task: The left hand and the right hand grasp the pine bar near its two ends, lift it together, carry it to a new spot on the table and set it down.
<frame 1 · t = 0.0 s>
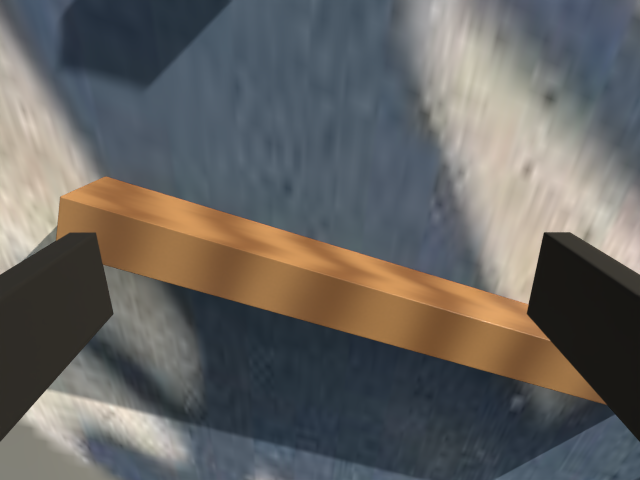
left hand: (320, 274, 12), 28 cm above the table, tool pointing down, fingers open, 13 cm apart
bar: (415, 292, 44), on the table
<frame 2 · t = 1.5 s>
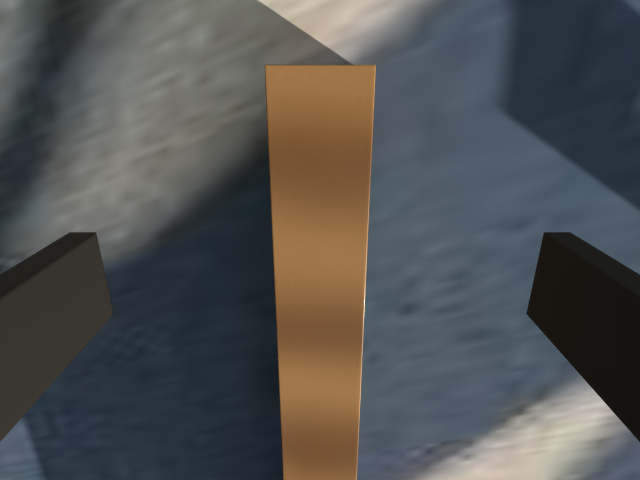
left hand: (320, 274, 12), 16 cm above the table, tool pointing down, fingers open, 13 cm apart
bar: (319, 464, 37), on the table
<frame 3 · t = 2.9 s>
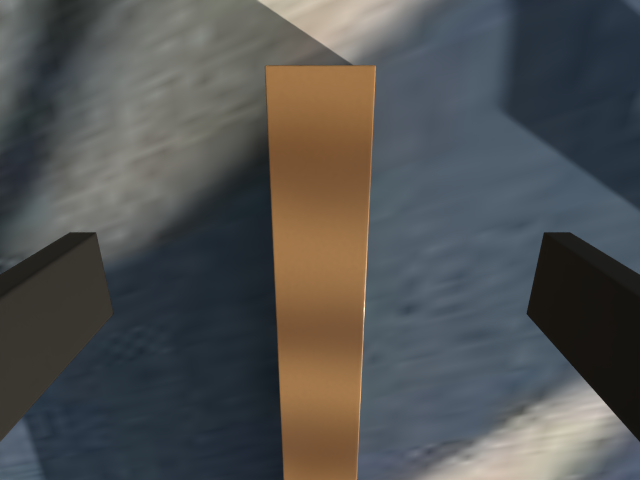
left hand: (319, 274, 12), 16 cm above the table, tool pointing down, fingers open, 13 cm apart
bar: (320, 465, 37), on the table, touching right hand
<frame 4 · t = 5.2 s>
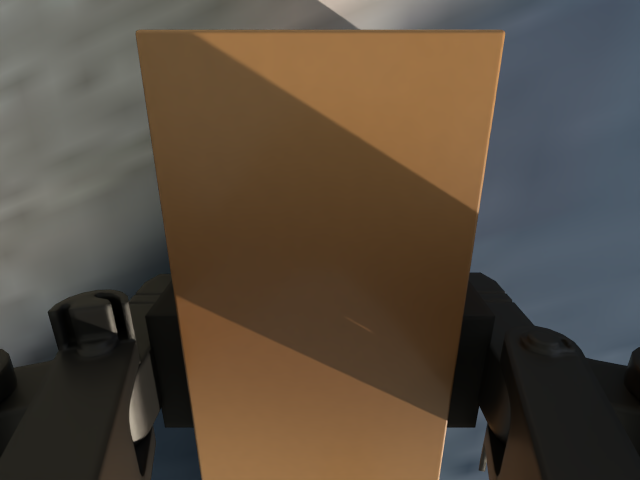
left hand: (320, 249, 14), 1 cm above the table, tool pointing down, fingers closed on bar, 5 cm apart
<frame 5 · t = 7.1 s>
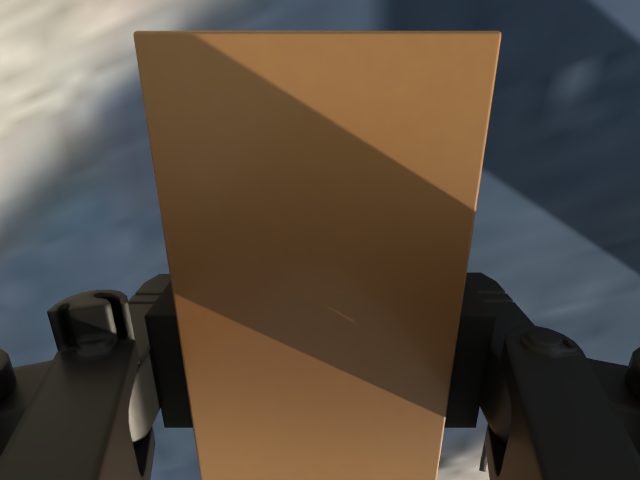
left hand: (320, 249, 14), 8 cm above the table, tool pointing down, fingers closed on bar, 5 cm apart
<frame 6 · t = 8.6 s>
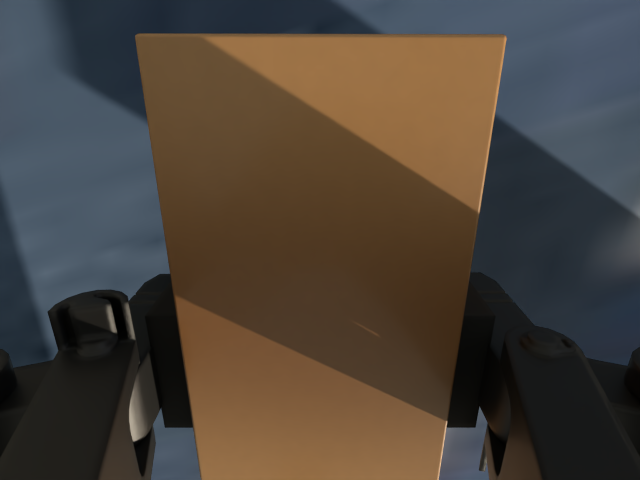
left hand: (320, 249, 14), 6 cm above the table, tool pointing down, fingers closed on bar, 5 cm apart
when the left hand's fingers open (2 cm above the table, at t = 9.3 s): bar drops 2 cm, on the table.
when the right hand's fingers open (4 cm above the table, at t = 9.5 s): bar stays where it is, on the table.
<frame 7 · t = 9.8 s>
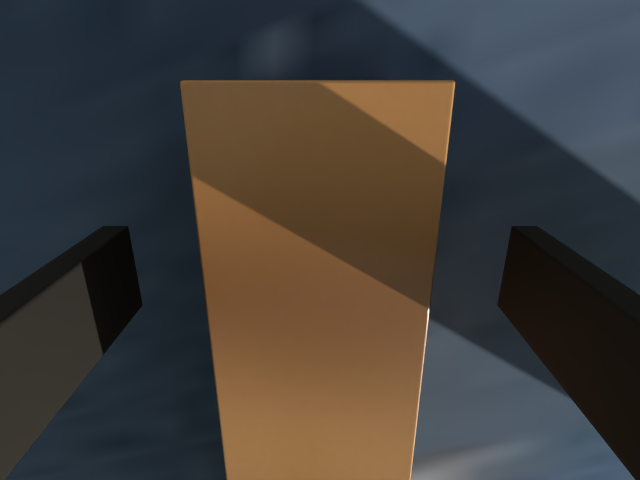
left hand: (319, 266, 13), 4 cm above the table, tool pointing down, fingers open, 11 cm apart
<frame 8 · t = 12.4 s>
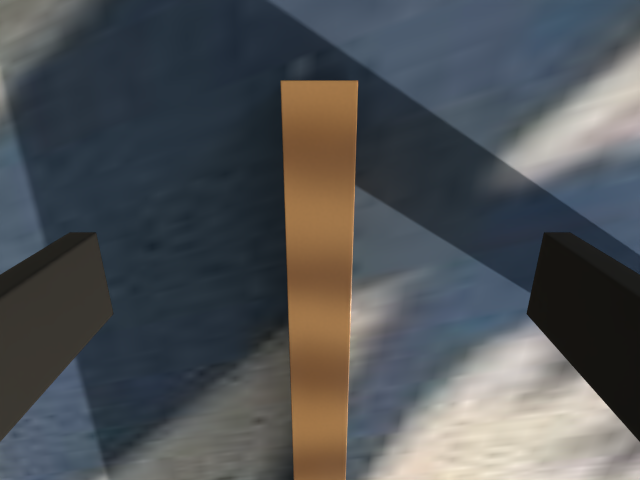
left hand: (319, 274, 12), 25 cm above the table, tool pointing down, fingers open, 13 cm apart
bar: (319, 404, 45), on the table
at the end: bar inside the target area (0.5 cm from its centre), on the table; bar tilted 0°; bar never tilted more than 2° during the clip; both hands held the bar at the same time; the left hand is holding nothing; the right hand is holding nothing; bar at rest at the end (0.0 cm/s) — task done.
